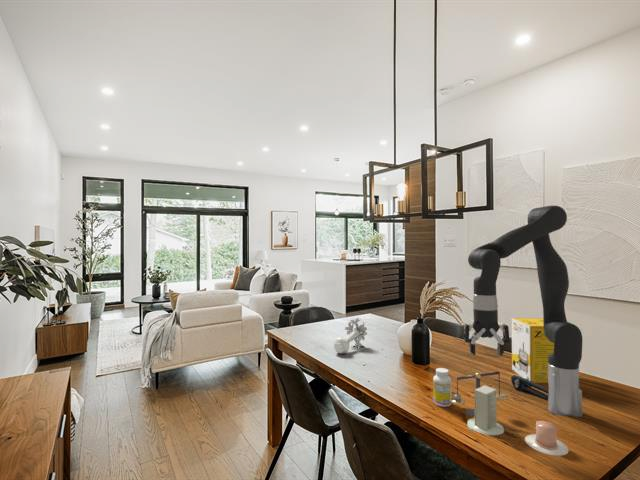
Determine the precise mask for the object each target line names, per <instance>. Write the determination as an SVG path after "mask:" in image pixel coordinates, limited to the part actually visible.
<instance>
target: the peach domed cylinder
mask: <svg viewBox="0 0 640 480" xmlns="http://www.w3.org/2000/svg"><path fill="white" fill-rule="evenodd" d="M557 433H558V431H557V426H556V425H555V424H553V422H549V421H546V420H537V421H535V434H536V438H535V443H536V444H537V445H538V446H540V447H542V448H544V449H548V450H556V449H557V448H558V445H557V440H558V437H557Z"/></svg>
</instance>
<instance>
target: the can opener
mask: <svg viewBox="0 0 640 480" xmlns="http://www.w3.org/2000/svg"><path fill="white" fill-rule="evenodd" d="M510 380H511V384H512V386H513V388H514V389H516V390H518V391H528V392H530V393H532V394H534V395H536V396H538V397H539V398H542V399H544V400H546V401H548V387H544V386H542V385H541V384H540V383H534V382H532V381H529V379H527V378H523V377H521V376H520V375H519V376H518V375H516V374H513V375H512V376H511V377H510Z"/></svg>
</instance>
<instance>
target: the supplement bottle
mask: <svg viewBox="0 0 640 480" xmlns="http://www.w3.org/2000/svg"><path fill="white" fill-rule="evenodd" d="M449 374H450V373H449V369H447V368H444V367H438V368H436V369H435V375H434V376H433V378H432V379H433V380H432V385H433V386H432V387H433V388H432V390H433V392H432V393H433V397H432V399H433V403H434V404H435V405H436V406H438V407H442V408H447V407H450V406H451V405H452V404H453V403H452V402H450V399H451V398H453V397H452V396H453V395H452V378H451V377H450V376H449Z"/></svg>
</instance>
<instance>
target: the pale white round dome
mask: <svg viewBox="0 0 640 480" xmlns="http://www.w3.org/2000/svg"><path fill="white" fill-rule="evenodd" d="M466 423H467V429H468V431H470V432H471V433H472V434H474V432H476V433H477V432H478V433H479V434H482V435H487V436H499V435H502V434H503V433H504V432H505V428H504V426H503V425H502V424H501V423H499V422H497V425H496V426H495V427H493V428H491V429H489V430H487V431H485V430H483V429H481V428H479V427H477V426H475V417H471V418H469V419H467V422H466ZM473 431H474V432H473Z"/></svg>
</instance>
